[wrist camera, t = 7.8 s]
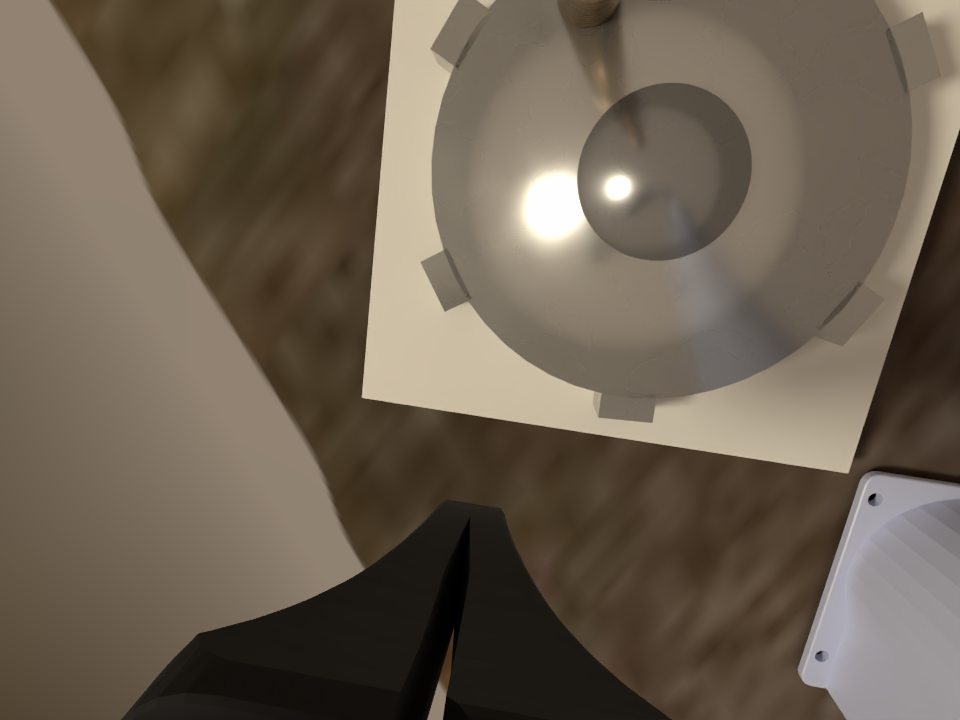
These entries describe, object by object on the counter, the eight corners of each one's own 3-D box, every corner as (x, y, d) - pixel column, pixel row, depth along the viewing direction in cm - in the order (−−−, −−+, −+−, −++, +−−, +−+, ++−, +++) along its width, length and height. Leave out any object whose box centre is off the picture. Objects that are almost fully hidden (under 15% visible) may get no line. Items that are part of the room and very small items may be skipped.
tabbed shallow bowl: (962, 278, 17) (1155, 297, 12) (525, 457, 20) (523, 537, 15) (818, -191, 15) (980, -430, 10) (343, 85, 18) (263, 20, 12)
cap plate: (832, 461, 20) (851, 475, 19) (369, 390, 21) (360, 399, 20) (1006, -90, 16) (1044, -116, 15) (416, -149, 17) (407, -176, 16)
